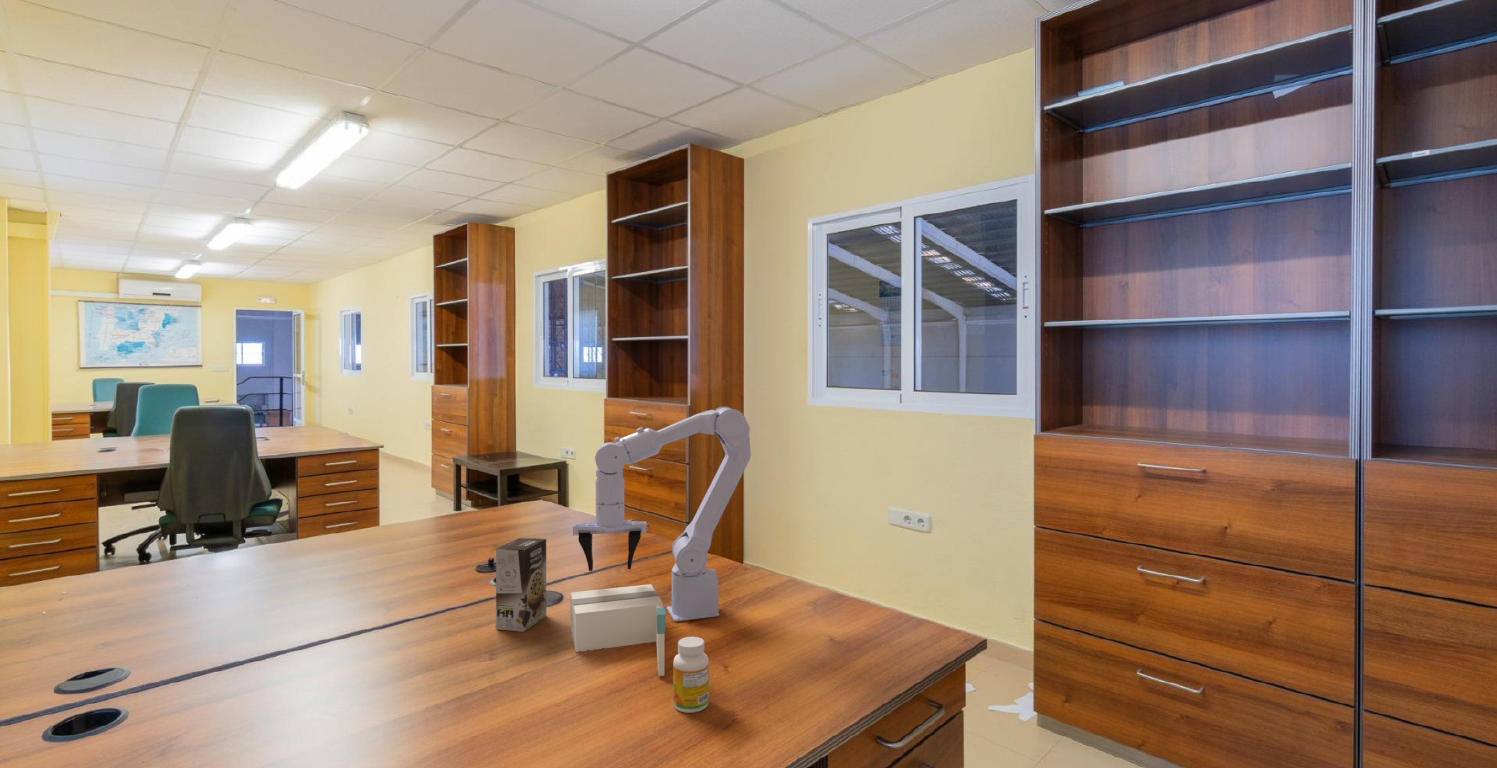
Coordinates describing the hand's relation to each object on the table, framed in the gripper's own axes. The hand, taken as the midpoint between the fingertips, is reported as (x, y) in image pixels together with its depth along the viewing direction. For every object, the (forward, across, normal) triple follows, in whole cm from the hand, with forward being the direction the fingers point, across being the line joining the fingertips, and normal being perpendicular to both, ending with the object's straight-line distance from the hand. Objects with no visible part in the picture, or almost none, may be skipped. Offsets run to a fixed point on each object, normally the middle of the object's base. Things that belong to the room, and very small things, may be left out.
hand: (610, 568), depth 136 cm
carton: (+10, +1, -8) cm, 13 cm away
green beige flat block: (+10, +10, -21) cm, 25 cm away
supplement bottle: (+11, +14, -37) cm, 41 cm away
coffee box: (+11, -17, +1) cm, 20 cm away
